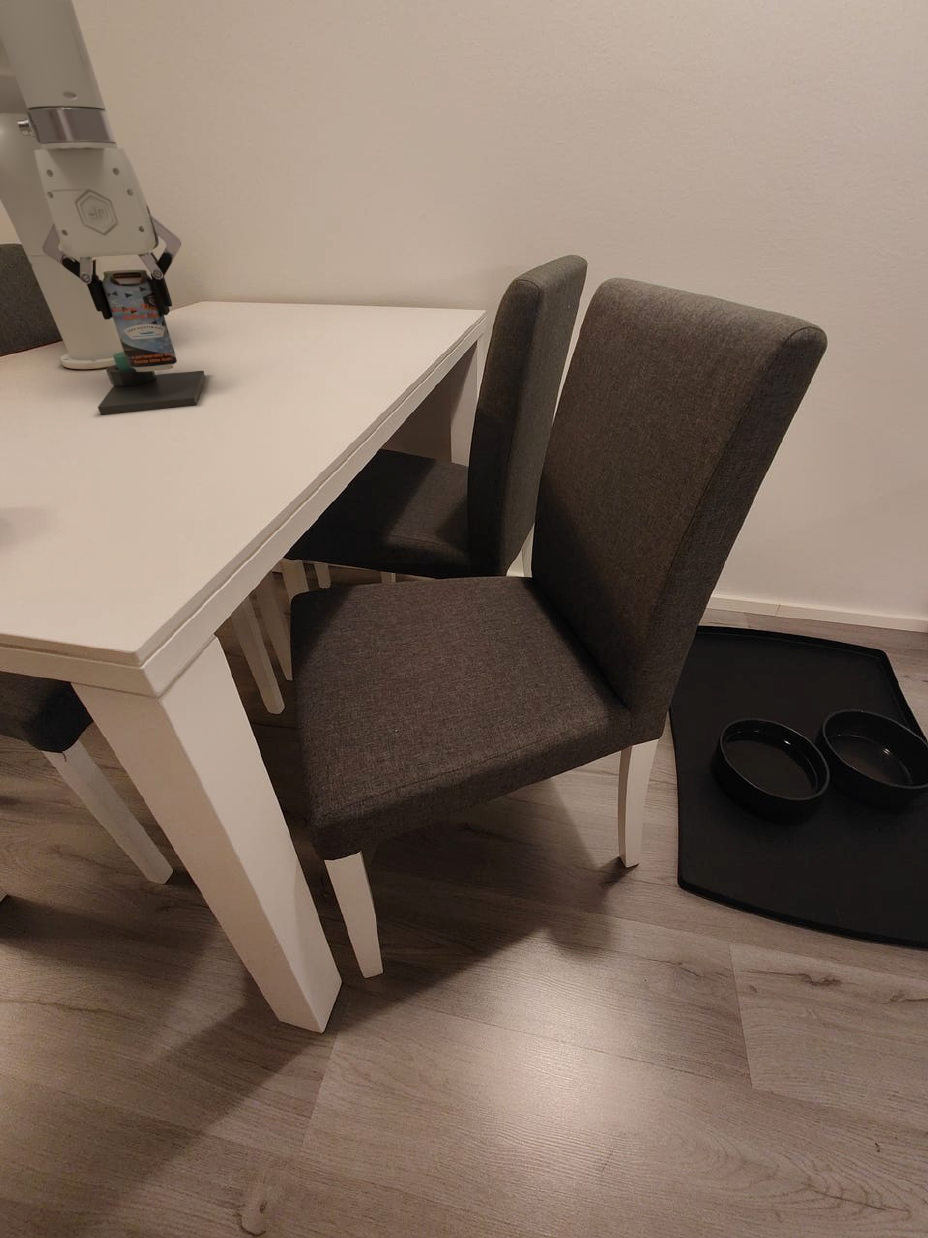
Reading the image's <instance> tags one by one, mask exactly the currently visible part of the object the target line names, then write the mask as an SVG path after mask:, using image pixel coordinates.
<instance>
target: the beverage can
mask: <svg viewBox="0 0 928 1238" xmlns="http://www.w3.org/2000/svg"><path fill="white" fill-rule="evenodd" d="M103 274H104V279H103V282H102V286H103V289H104V292H105V296H106V299H107V302H108V305H109V308H110V311H111V314H112V317H113V320H114V323H115V326H116V329H117V332H118V335H119V338H120V341H121V344H122V348H123V351H124V354H125V357H126V360H127V363H128V366H129V367H132V368H134V369H136V371H137V372H148V371H154V372H158V371H167V370H171V369H173V368H174V365H175V364H176V363H177V362H178V360H177V356H176V353H175V349H174V345H173V342H172V339H171V335H170V332H169V328H168V325H167V321H166V318H165V315H162V314H160V311H159V308H158V305H157V302H156V299H155V296H154V293H153V289H152V286H151V283H150V281H151V280H152V277H151V276H150V275H149V274H148V272H147V270H146V269H119V270H118V269H117V270H107V271H106V270H105V271H104V272H103Z"/></svg>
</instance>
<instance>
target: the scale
mask: <svg viewBox="0 0 928 1238" xmlns="http://www.w3.org/2000/svg"><path fill="white" fill-rule="evenodd" d="M105 370H106V375H107V376H108V379H109V381H110V384H111V385H112V387H111V388H110V390H109V392H108V393H107V394H106V396H105V397H104V398H103V400H102V401H100V403H99V405H98V406H97V409H98V411H99V414H100V415H101V416H102V415H112V414H121V413H130V412H131V413H132V412H143V411H152V410H160V409H169V408H170V409H172V408H181V407H191V406H192V407H193V406H197V404H198V400H199V397H200V394H201V391H202V388H203V385H204V382H205V379H206V375H205V370H194V371H193V370H192V371H181V372H172V373H171V372H170V373H160V374H159V373H158V374H156V373H155V372H156V371H148V372H137V371H136V369H130V370H118V368H117V365H113V366H110V367H106V369H105Z"/></svg>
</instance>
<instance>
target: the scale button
mask: <svg viewBox="0 0 928 1238" xmlns="http://www.w3.org/2000/svg"><path fill="white" fill-rule="evenodd" d="M113 358H114V360H115V363H116V365H117V368H118V370H130V369H134V368H132V367H129V366H128V363H127V360H126V357H125V354H124V352H122V353H117V354H115V355H113Z"/></svg>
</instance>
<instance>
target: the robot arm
mask: <svg viewBox="0 0 928 1238" xmlns="http://www.w3.org/2000/svg"><path fill="white" fill-rule="evenodd" d="M0 202H1V204H2V205H3V207H4V209H5V211H6V214H7V216H8V217H9V219H10V222H11V224H12V225H13V228H14V230H15V232H16V235H17V237H18V239H19V241H20V244H21V246H22V248H23V250H24V253H25V255H26V257H27V260H28V262H29V265H30V267H31V269H32V271H33V274H34V276H35V278H36V281H37V284H38V286H39V288H40V291H41V292H42V294H43V297H44V300H45V302H46V304H47V307H48V309H49V311H50V313H51V315H52V318H53V321H54V322H55V323H54V324H55V325H56V328H57V330H58V333H59V335H60V337H61V339H62V342H63V344H64V346H65V348H66V350H67V352H66V353H64V354H62V355H61V356H60V357H59V360H60V361H59V362H61V363H60V364H61V365H62V366H63V367H65V368H67V369H72V370H92V369H104V368H108V367H110V366H113V365H116V363H115V360H114V358H113V355H115V354H117V353H122V352H124V351H123V348H122V344H121V341H120V338H119V335H118V332H117V329H116V326H115V323H114V320H113V317H112V314H111V311H110V308H109V305H108V302H107V299H106V296H105V292H104V289H103V286H102V282H103V279H104V274H103V272H105V270H104V268H103V264H102V262H101V259H100V257H102V258H103V257H119V256H136V255H137V256H138V257H139V258H140V260H141V261H142V262H143V264H144V265H145V267H146V269H147V270H148V271H149V273H150V278H151V279H152V280H151V281H150V283H151V286H152V289H153V293H154V296H155V299H156V302H157V305H158V308H159V311H160V314H162V315H164V316H168V315H169V313H170V312H171V311H170V307H173V302H172V301H173V300H172V298H171V294H170V291H169V289H168V285H167V280H166V278H165V276H166V274H167V272H168V270H169V269H170V267H171V266H172V264H173V261H174V260H175V258H176V257H177V255H178V253H179V251H180V250H181V248H182V246H183V240H182V239H180V237H178V236H177V235H176V234H175V233H174V232H172V231H171V230H170V229H169V228H167V226H165V225H164V224H162V222H161V221H159V220H158V219H157V218H156V217H154V216H153V215H152V213H151V210H150V207H149V205H148V202H147V199H146V197H145V194H144V192H143V189H142V186H141V183H140V182H139V179H138V176H137V173H136V171H135V170H134V167H133V165H132V163H131V160H130V159H129V156H128V154H127V152H126V150H125V148H119V147H118V144H117V141H116V138H115V134H114V132H113V128H112V125H111V122H110V119H109V116H108V112H107V109H106V106H105V102H104V100H103V96H102V92H101V90H100V86H99V83H98V80H97V76H96V74H95V70H94V67H93V64H92V61H91V58H90V54H89V51H88V48H87V45H86V41H85V38H84V35H83V32H82V29H81V26H80V23H79V20H78V15H77V13H76V9H75V6H74V4H73V0H0ZM159 238H160V239H161V240H163V241H164V242H165V244H166V245H165V246H166V247H165V248H164V250H163V252H162V254H161V255H160V257H159V258H158V257H157V255H156V254H155V253H154V251H153V250H155V249H156V248H158V246H159V244H160V241H159V240H160V239H159Z"/></svg>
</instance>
